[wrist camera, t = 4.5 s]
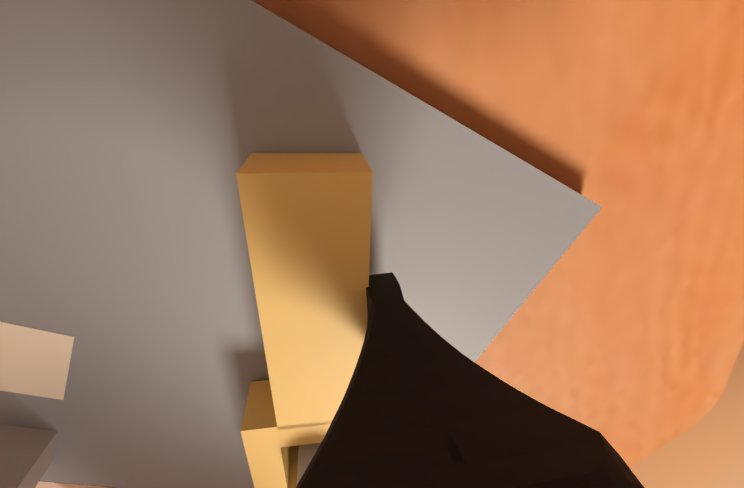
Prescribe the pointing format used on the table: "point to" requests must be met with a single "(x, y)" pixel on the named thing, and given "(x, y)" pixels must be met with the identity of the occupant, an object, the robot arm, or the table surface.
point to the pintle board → (212, 226)
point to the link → (303, 297)
